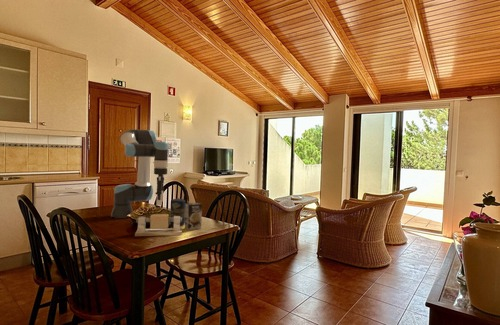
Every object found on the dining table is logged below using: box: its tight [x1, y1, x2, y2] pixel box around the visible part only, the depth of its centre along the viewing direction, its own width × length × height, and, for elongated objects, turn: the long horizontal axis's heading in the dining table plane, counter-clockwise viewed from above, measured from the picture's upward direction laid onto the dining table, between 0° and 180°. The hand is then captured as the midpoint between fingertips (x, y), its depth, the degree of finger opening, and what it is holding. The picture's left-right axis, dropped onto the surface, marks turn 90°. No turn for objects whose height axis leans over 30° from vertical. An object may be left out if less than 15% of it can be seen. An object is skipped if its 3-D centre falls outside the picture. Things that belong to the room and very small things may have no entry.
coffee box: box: [184, 202, 203, 231], centre depth 189 cm, size 9×6×16 cm
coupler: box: [149, 213, 170, 229], centre depth 176 cm, size 6×10×7 cm, turn 103°
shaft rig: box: [134, 216, 183, 237], centre depth 176 cm, size 10×26×10 cm, turn 103°
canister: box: [169, 197, 186, 226], centre depth 198 cm, size 10×10×18 cm
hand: (159, 203), depth 176 cm, fingers open, 13 cm apart
